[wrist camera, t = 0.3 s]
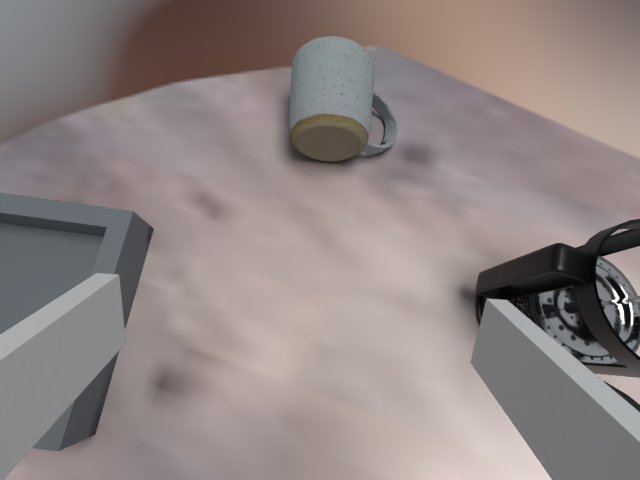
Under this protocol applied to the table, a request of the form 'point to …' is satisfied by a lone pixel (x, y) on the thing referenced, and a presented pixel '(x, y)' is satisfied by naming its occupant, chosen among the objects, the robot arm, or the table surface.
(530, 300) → the french press
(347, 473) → the table surface
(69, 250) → the tray
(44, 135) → the table surface
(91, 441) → the table surface
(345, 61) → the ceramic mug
